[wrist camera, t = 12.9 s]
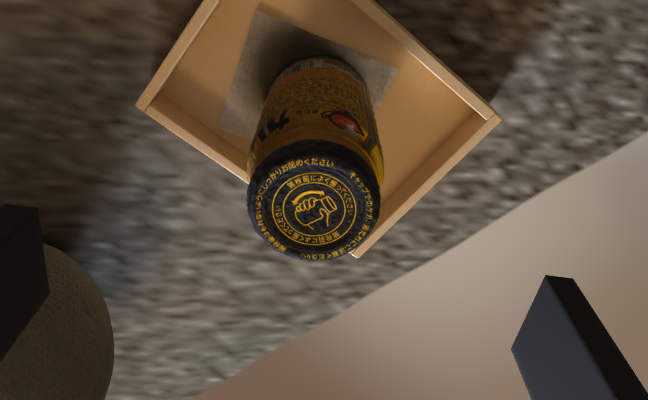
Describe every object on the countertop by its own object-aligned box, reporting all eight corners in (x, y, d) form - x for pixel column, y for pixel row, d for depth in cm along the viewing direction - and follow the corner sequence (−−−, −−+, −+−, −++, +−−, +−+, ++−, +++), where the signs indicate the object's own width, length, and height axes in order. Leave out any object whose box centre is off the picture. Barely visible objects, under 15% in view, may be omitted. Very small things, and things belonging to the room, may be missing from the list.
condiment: (347, 175, 32) (357, 301, 22) (217, 127, 31) (160, 237, 20) (398, 68, 29) (439, 156, 18) (256, 8, 27) (212, 67, 17)
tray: (147, 92, 30) (133, 105, 28) (269, -94, 26) (264, -94, 23) (356, 237, 35) (358, 259, 33) (490, 104, 30) (502, 119, 28)
